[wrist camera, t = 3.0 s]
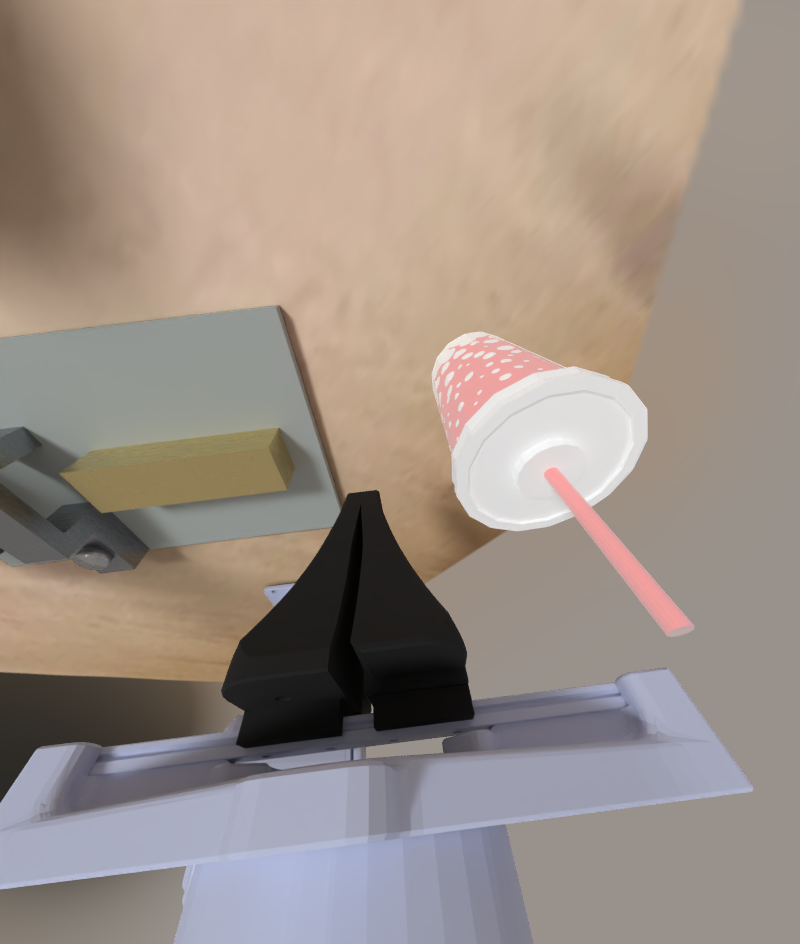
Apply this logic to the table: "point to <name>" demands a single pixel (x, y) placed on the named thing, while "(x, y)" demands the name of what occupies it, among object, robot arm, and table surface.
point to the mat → (165, 416)
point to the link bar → (183, 470)
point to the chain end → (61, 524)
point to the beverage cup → (543, 448)
